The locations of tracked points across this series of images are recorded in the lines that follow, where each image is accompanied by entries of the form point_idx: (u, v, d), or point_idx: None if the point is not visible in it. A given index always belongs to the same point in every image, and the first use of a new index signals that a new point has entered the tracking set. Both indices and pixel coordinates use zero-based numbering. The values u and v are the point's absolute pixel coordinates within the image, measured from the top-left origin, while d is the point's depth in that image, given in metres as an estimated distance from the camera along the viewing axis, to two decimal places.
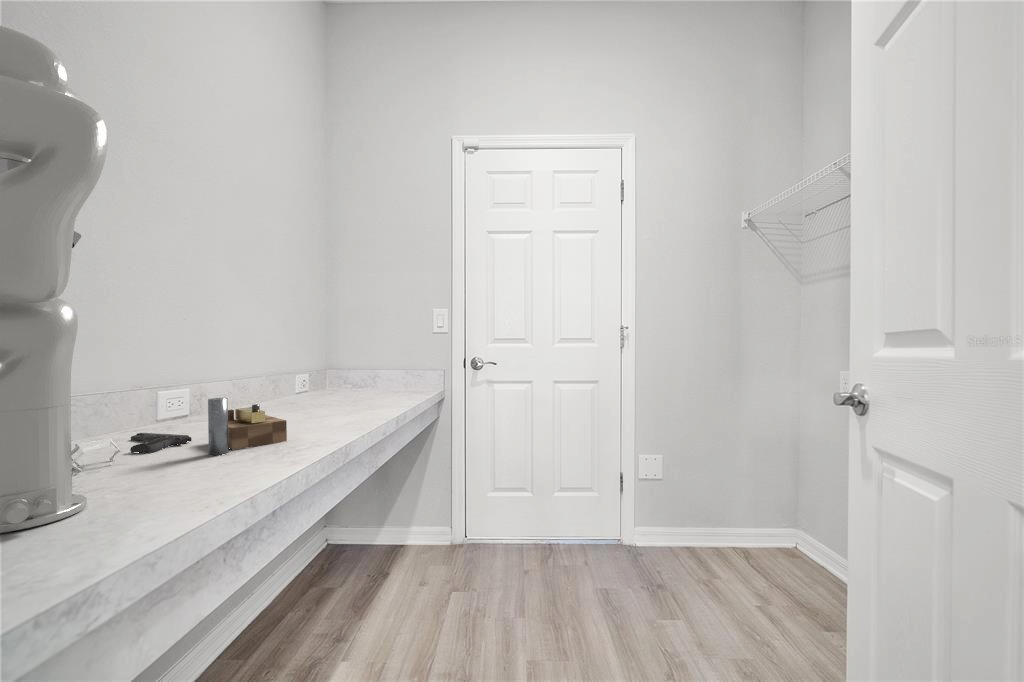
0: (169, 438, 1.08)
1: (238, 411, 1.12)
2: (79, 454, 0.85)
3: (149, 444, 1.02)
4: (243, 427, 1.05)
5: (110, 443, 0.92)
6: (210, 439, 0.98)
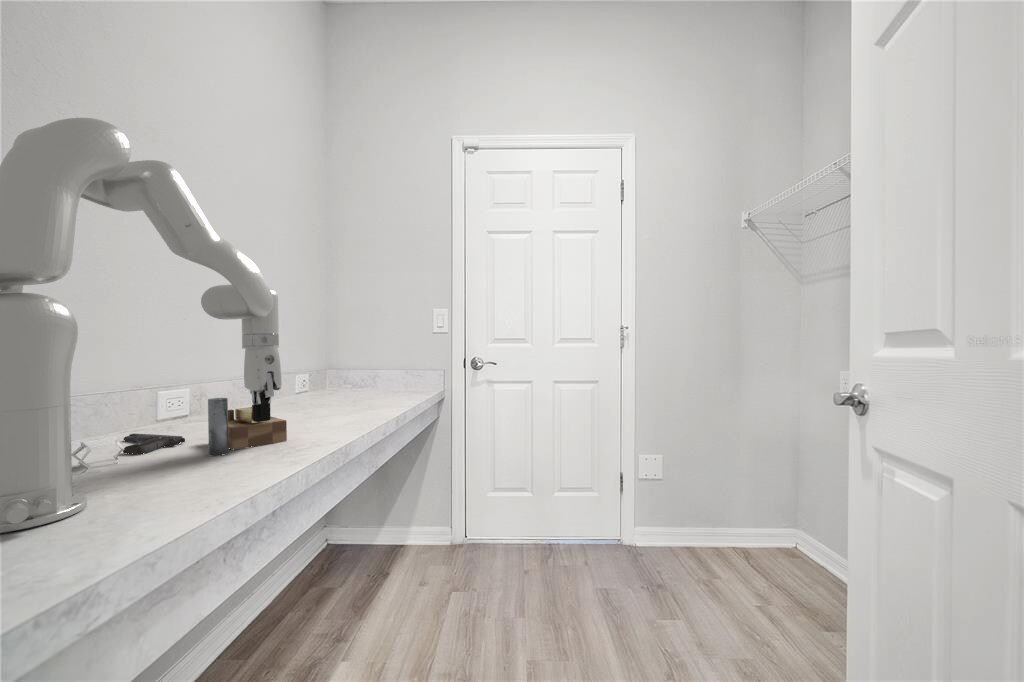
0: (162, 439, 1.07)
1: (238, 411, 1.12)
2: (87, 452, 0.87)
3: (142, 445, 1.01)
4: (243, 427, 1.05)
5: (115, 441, 0.93)
6: (210, 439, 0.98)
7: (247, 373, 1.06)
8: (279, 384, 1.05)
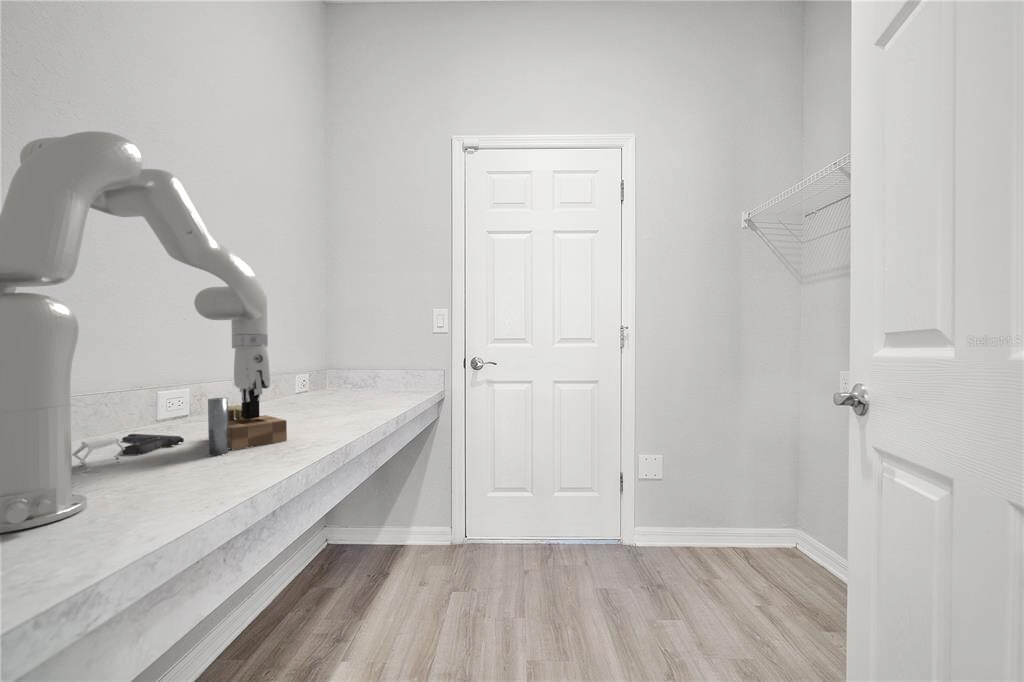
0: (161, 439, 1.07)
1: (228, 409, 1.16)
2: (89, 451, 0.87)
3: (140, 445, 1.01)
4: (243, 427, 1.05)
5: (116, 441, 0.93)
6: (210, 439, 0.98)
7: (237, 372, 1.10)
8: (268, 382, 1.09)
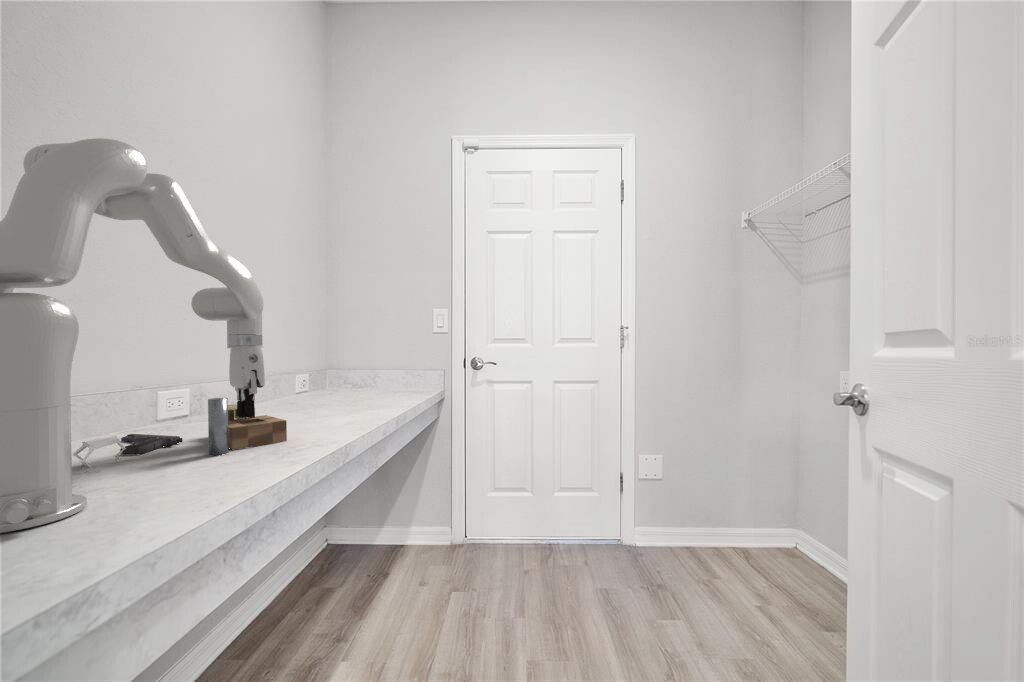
0: (160, 439, 1.07)
1: None
2: (90, 451, 0.87)
3: (139, 445, 1.01)
4: (243, 427, 1.05)
5: (117, 441, 0.94)
6: (210, 439, 0.98)
7: (232, 371, 1.12)
8: (263, 382, 1.11)
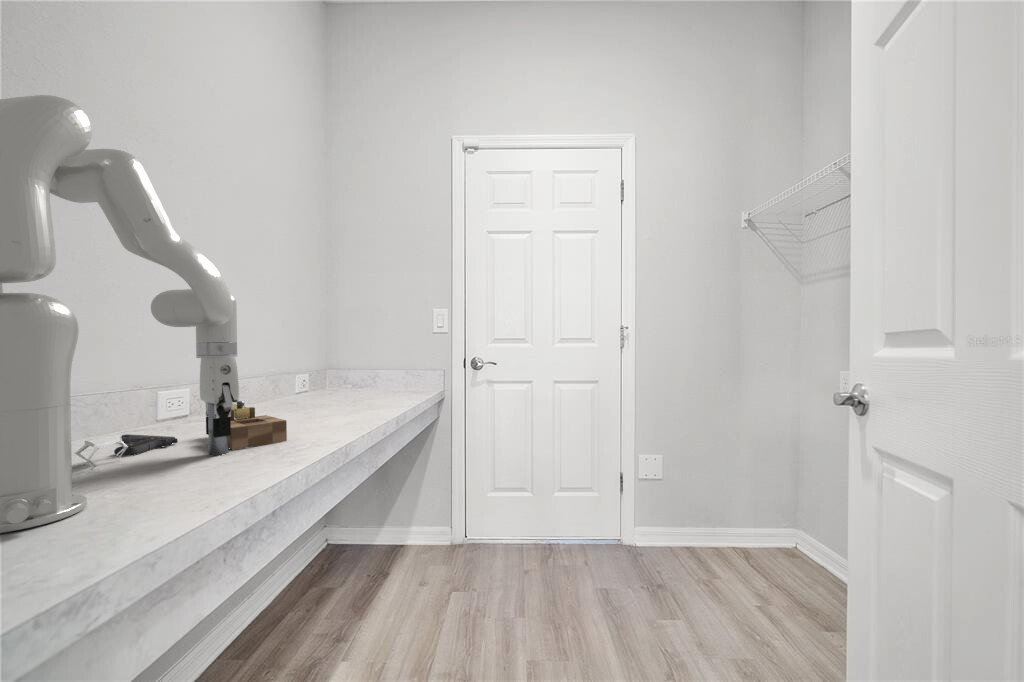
0: (154, 440, 1.06)
1: None
2: (95, 450, 0.88)
3: (133, 446, 1.00)
4: (243, 427, 1.05)
5: (120, 439, 0.95)
6: (210, 439, 0.98)
7: (202, 384, 0.99)
8: (236, 396, 0.98)
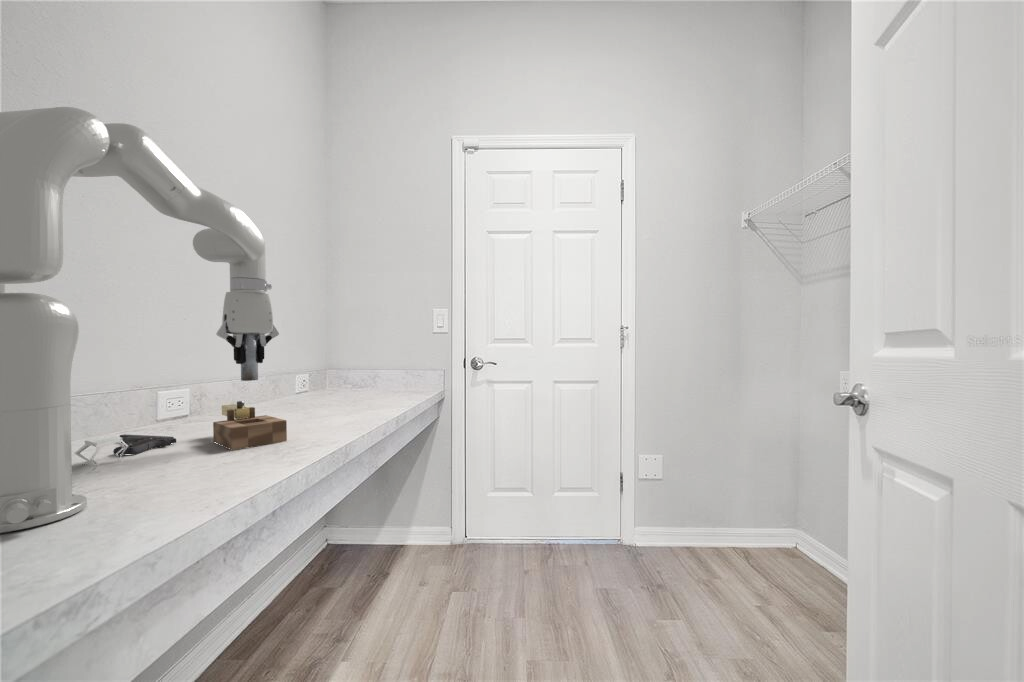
0: (153, 440, 1.07)
1: (224, 407, 1.18)
2: (97, 449, 0.89)
3: (133, 446, 1.01)
4: (243, 427, 1.05)
5: (120, 439, 0.95)
6: (254, 365, 1.11)
7: (245, 316, 1.09)
8: None
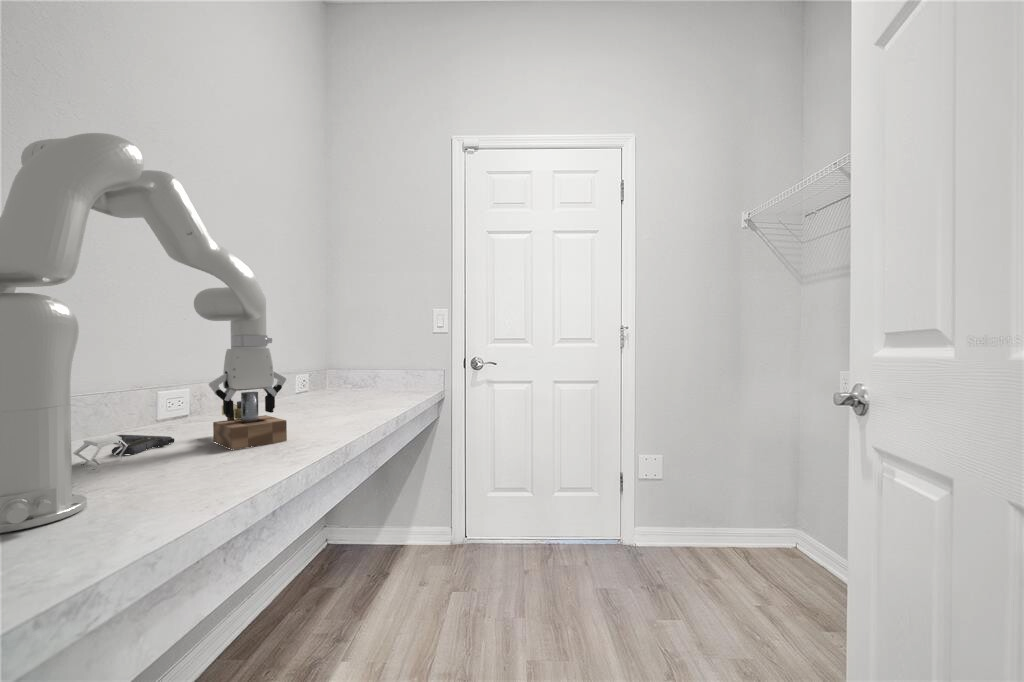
0: (151, 439, 1.07)
1: None
2: (99, 449, 0.89)
3: (131, 445, 1.01)
4: (243, 427, 1.05)
5: (120, 439, 0.95)
6: None
7: (246, 373, 1.09)
8: None
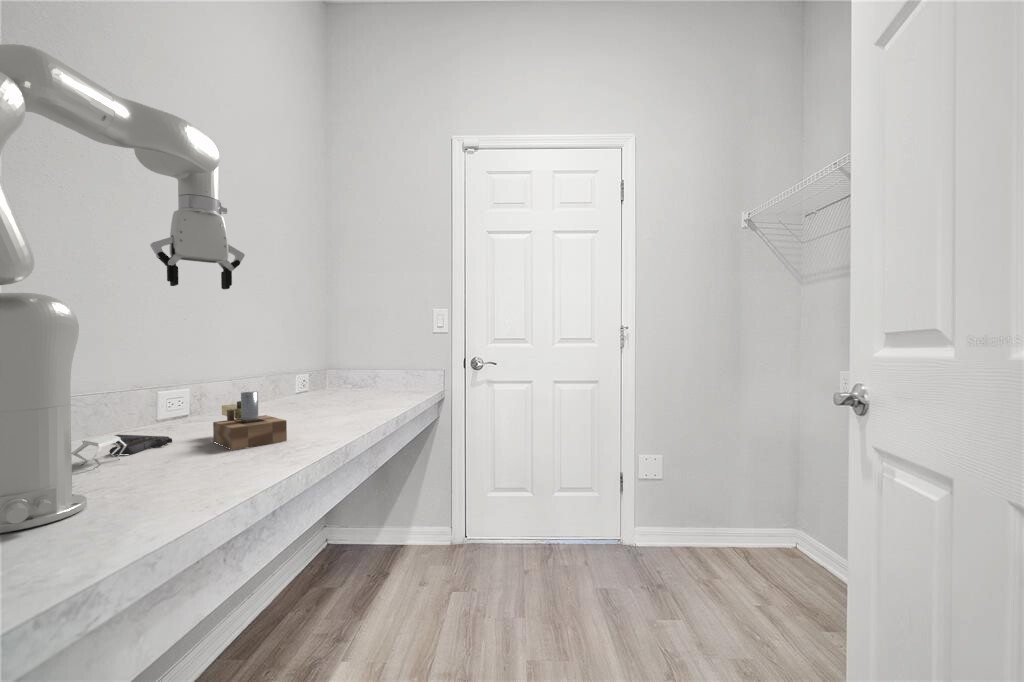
0: (149, 439, 1.07)
1: (224, 407, 1.18)
2: (100, 448, 0.89)
3: (129, 445, 1.01)
4: (243, 427, 1.05)
5: (119, 438, 0.96)
6: None
7: (195, 239, 0.97)
8: None
